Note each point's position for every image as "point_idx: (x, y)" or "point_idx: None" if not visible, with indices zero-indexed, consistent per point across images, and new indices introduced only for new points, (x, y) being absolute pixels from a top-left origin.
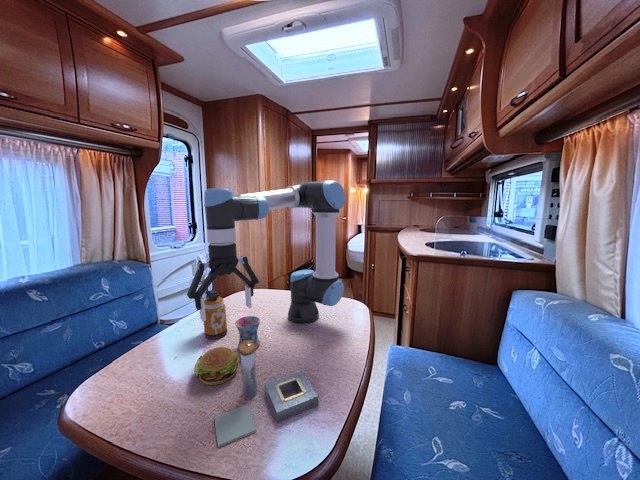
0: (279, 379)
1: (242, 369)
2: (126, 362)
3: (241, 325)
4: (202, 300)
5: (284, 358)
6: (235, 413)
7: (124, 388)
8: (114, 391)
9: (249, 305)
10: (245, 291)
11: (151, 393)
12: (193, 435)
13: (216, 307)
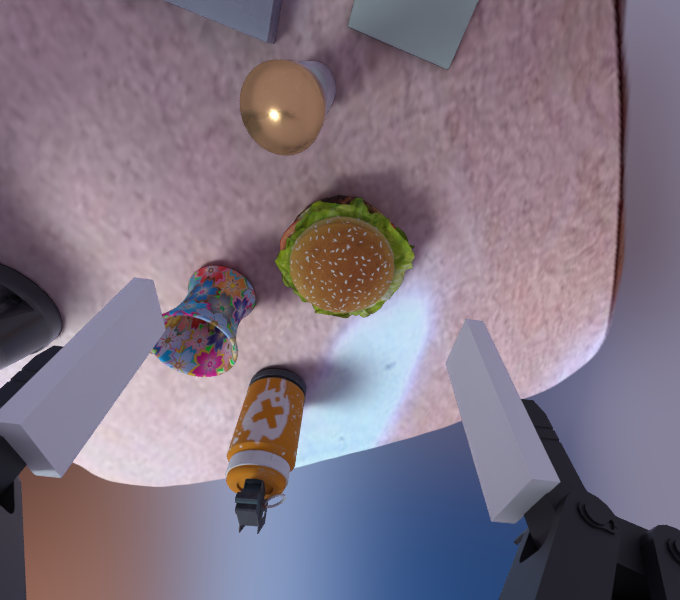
0: (208, 10)
1: (329, 97)
2: None
3: (217, 352)
4: (540, 465)
5: (145, 155)
6: (398, 23)
7: (508, 342)
8: (523, 346)
9: (139, 292)
10: (95, 420)
11: (486, 291)
12: (516, 56)
13: (259, 453)
